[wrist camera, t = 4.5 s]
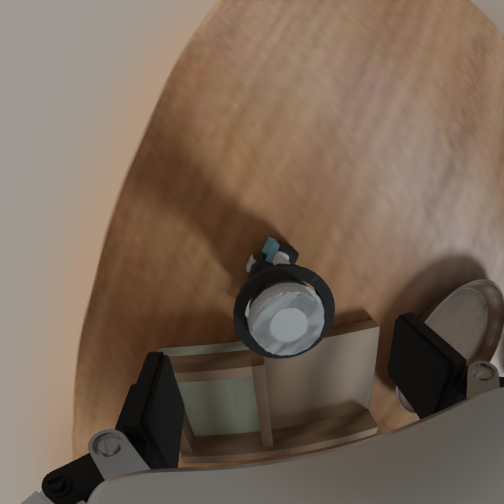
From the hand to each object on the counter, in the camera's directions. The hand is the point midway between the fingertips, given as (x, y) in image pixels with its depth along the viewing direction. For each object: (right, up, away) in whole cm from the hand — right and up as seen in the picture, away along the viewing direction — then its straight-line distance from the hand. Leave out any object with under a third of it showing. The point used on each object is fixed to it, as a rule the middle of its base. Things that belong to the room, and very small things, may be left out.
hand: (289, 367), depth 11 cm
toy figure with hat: (-1, +3, +13) cm, 13 cm away
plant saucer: (+21, -6, +17) cm, 28 cm away
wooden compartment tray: (+1, -9, +16) cm, 18 cm away
